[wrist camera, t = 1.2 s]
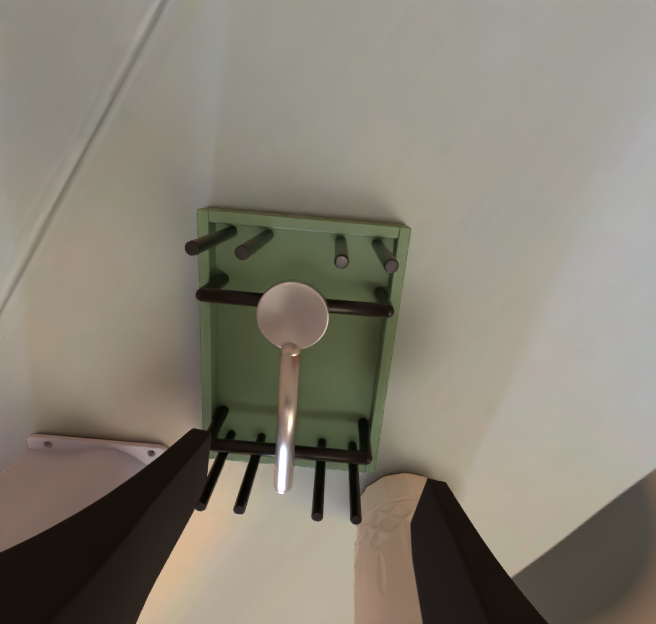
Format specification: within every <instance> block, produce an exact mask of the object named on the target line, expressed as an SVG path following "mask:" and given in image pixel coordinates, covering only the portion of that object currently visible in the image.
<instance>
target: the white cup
mask: <svg viewBox="0 0 656 624" xmlns="http://www.w3.org/2000/svg"><path fill="white" fill-rule="evenodd" d="M426 481H427V477H425V476H419V475H414V474H409V473H401V474H395V475H389V476H384V477H382V478H380V479H379V480H377V481H376V482H374V483H373V484H371V485H369V486H368V487H366V489H365V491H364V492H363V494H362V495H361V497H360V498H361V512H362V522H361V523H360V524H358V525H357V532H356V541H355V556H354V585H353V599H354V624H423V623H422V617H421V611H420V605H419V599H418V593H417V587H416V581H415V575H414V568H413V562H412V552H411V532H410V522H411V520H412V517H413V514H414V512H415V509H416V507H417V504H418V501H419V499H420V496H421V494H422V491H423V488H424V486H425V483H426Z"/></svg>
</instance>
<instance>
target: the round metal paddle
mask: <svg viewBox="0 0 656 624" xmlns="http://www.w3.org/2000/svg"><path fill="white" fill-rule="evenodd" d="M256 315H257V322H258V326H259V328H260V330H261V332H262V333H263V335H264V336H265V337H266V338H267V339H268V340H269V341H270V342H271V343H273V344H274V345H276V346H278V347H281V350H280V368H279V389H278V410H277V431H276V452H275V473H274V487H275V490H276V491H277V492H278V493H281V494H285V493H287V492H289V491H290V489H291V487H292V480H293V465H294V450H295V435H296V420H297V405H298V390H299V375H300V360H301V349H304V348H307V347H310V346H312V345H313V344H315V343H316V342H317V341H319V340H320V338H321V337H322V336H323V335H324V333H325V331H326V329H327V326H328V322H329V307H328V304H327V301H326V299H325V297H324V295H323V294H322V293H321V291H320V290H319V289H318V288H316V287H315V286H314V285H312V284H310V283H308V282H306V281H303V280H299V279H286V280H282V281H279V282H277V283H275V284H273V285H272V286H270V287H269V288H268V289H267V290H266V291H265V293H264V294H263V295H262V297H261V299H260V301H259V303H258V306H257V313H256Z"/></svg>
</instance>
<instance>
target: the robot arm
mask: <svg viewBox="0 0 656 624" xmlns="http://www.w3.org/2000/svg"><path fill="white" fill-rule="evenodd" d="M211 434H212V432H209V431H205V430H200V429H195V428H193V429H191V430H190V431H189V432H187V433H186V434H185V435H184V436H183V437H182V438H180V439H179V440H178V441H177V442H176V443H174V444H173V445H172V446H171V447H170V448H168V449H167V448H166V447H165V446H163V445H159V444H147V443H136V442H124V441H113V440H102V439H90V438H79V437H68V436H56V435H45V434H33V435H31V436H30V437H29V438H28V439H27V446H28V450H27V451H26V452H25V453H24V454H23V455H21V456H20V457H19V458H18V459H17V460H15V461H14V462H13V463H12V464H11V465H9V466H8V467H7V468H6V469H5V470H4V471H2V472H1V473H0V624H136V622H137V620H138V618H139V615H140V613H141V611H142V609H143V606H144V604H145V602H146V600H147V597H148V595H149V593H150V591H151V589H152V587H153V585H154V583H155V581H156V580H157V578H158V576H159V574H160V572H161V570H162V569H163V567H164V565H165V563H166V561H167V559H168V558H169V556H170V554H171V552H172V550H173V548H174V547H175V545H176V543H177V541H178V539H179V537H180V536H181V534H182V532H183V530H184V528H185V526H186V524H187V523H188V521H189V519H190V517H191V515H192V513H193V511H194V509H195V507H196V505H197V502H198V500H199V497H200V495H201V493H202V490H203V488H204V485H205V483H206V480H207V473H208V463H209V453H210V444H211ZM50 442H51V443H50ZM150 450H152V451H154V453H153V452H151V451H150ZM410 532H411V552H412V562H413V568H414V575H415V581H416V587H417V593H418V599H419V605H420V611H421V617H422V623H423V624H548V623H547V622H546V621H545V619H544V618H543V617H542V616H541V615H540V614H539V613H538V611H537V610H536V609H535V608H534V607H533V605H532V604H531V603H530V602H529V601H528V599H527V598H526V597H525V596H524V595H523V593H522V592H521V591H520V590H519V588H518V587H517V586H516V585H515V583H514V582H513V581H512V579H511V578H510V577H509V575H508V574H507V573H506V571H505V570H504V569H503V567H502V566H501V565H500V563H499V562H498V561H497V559H496V558H495V556H494V555H493V554H492V552H491V551H490V549H489V548H488V547H487V545H486V544H485V542H484V541H483V539H482V538H481V536H480V535H479V533H478V532H477V530H476V529H475V527H474V526H473V524H472V523H471V521H470V520H469V518H468V517H467V515H466V513H465V512H464V510H463V509H462V507H461V506H460V504H459V502H458V501H457V499H456V498H455V496H454V495H453V493H452V491H451V490H450V488H449V487H448V485H447V484H446V482H442V481H437V480H433V479H428V478H427V481H426V483H425V486H424V488H423V491H422V494H421V496H420V499H419V501H418V504H417V507H416V509H415V512H414V514H413V517H412V520H411V522H410Z"/></svg>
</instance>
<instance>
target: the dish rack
mask: <svg viewBox="0 0 656 624" xmlns="http://www.w3.org/2000/svg"><path fill="white" fill-rule="evenodd" d="M236 235H237V229H236V228H235V227H233V226H230V227H227V228H224V229H222V230H219V231H216V232H213V233H211V234H208V235H205V236H202V237H200V238H197V239H194V240H191V241H189V242H187V243H186V245H185V250H186V252H187V253H188V254H189V255H191V256H196V255H198V254H200V253H202V252H204V251H206V250H208V249H210V248H212V247H215V246H217V245H219V244H221V243H223V242H225V241H227V240H229V239H231V238H233V237H235V236H236ZM273 237H274V234H273V232H272V231H271V230H265V231H263V232H261V233H260V234H258V235H256V236H255V237H253V238H251V239H250V240H248V241H246V242H244V243H243V244H241V245H239V246H238V247H237V248H236V249H235V256H236V257H237V258H238V259H239V260H246V259H247V258H249V257H250V256H251V255H253V254H254V253H255V252H256V251H258V250H259V249H260V248H262V247H263V246H264V245H265V244H267V243H268V242H269V241H270V240H272V239H273ZM372 248H373V249H374V251H375V253H376V255H377V257H378V258H379V260H380V262H381V264H382V266H383V267H384V269H385V271H386V272H388V273H395V272H396V271H397V270H398V268H399V263H398V261H397V260H396V259H395V257H394V256H393V255H392V254H391V252H390V251H389V250H388V249H387V247H386V246H385V245H384V244H383V242H382V241H381V240H379V239H376V240H374V241H373V242H372ZM334 264H335V266H336V267H337V268H339V269H344V268H346V267H347V266H348V265H349V256H348V249H347V242H346V238H345V237H343V236H339V237H337V238H336V241H335V257H334ZM228 282H229V277H228V275H227V274H225V273H220V274H218V275H217V276H216V277H214V278H213V279H212V280H210V281H209V282H207V283H206V284H205V285H203V286H202V287H201V288H199V289H198V290H197V291H196V294H195V296H196V298H197V300H198V301H200V302H208V303H219V304H230V305H242V306H253V307H257V306H258V303H259V301H260V299H261V297H262V295H263V294H264V293H258V292H247V291H235V290H224V289H222V288H223V287H224V286H225V285H226V284H227V283H228ZM374 296H375V299H376V302H377V303H372V302H360V301H349V300H337V299H326V298H325V299H326V301H327V304H328V307H329V313H333V314H344V315H355V316H367V317H378V318H391V317H392V316H393V315H394V312H395V311H394V307H393V305H392V303H391V301H390V299H389V296H388V294H387V292H386V290H385V289H384V288H383V287H378V288H376V289H375V291H374ZM228 413H229V409H228V407H227V406H220V407H219V409H218V410H217V412H216V414H215V416H214V418H213V420H212V421H211V423H210V425H209V427H208V429H207V431H209V432H212V434H211V444H210V451H216V452H218V454H217V456H216V459H215V461H214V463H213V465H212V467H211V470H210V472H209V474H208V476H207V480H206V483H205V485H204V488H203V490H202V493H201V495H200V497H199V500H198V502H197V505H196V507H195V509H196V510H197V511H204V510H205V509H206V507H207V504H208V502H209V499H210V497H211V495H212V492H213V490H214V487H215V485H216V483H217V480H218V478H219V475H220V473H221V470H222V468H223V466H224V463H225V461H226V458H227V456H228V454H229V453H239V454H251V457H250V460H249V463H248V466H247V469H246V472H245V475H244V478H243V481H242V484H241V487H240V490H239V493H238V496H237V499H236V502H235V505H234V508H233V510H234V513H236V514H238V515H242V514H243V513H244V512H245V509H246V506H247V502H248V499H249V495H250V492H251V489H252V485H253V482H254V478H255V475H256V471H257V468H258V464H259V461H260V457H261V455H262V456H273V457H275V452H276V443H267V442H265V440H266V435H265V434H264V433H259V434H258V435H257V438H256V441H244V440H234V439H235V437H236V433H235V432H234V431H232V430H230V431H228V432H227V434H226V437H225V439H221V438H217V436H218V434H219V432H220V429H221V427H222V425H223V423H224V421H225V419H226V417H227V415H228ZM357 423H358V436H359V448H360V451H358V450H357V444H356V442H354V441H351V442H349V443H348V450H346V449H335V448H326V445H327V442H326V440H325V439H319V440H318V443H317V447H312V446H301V445H295V450H294V458H296V459H307V460H316V466H315V478H314V490H313V502H312V514H311V517H312V519H313V520H314V521H321V520H322V519H323V508H324V487H325V466H326V461H330V462H342V463H348V468H349V497H350V521H351V523H352V524H354V525H358V524H360V523H361V522H362V512H361V498H360V483H359V469H358V464H364V465H368V464H370V463H371V462H372V460H373V455H372V447H371V439H370V431H369V423H368V420H367V419H366V418H360V419H359V420H358V422H357Z"/></svg>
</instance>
